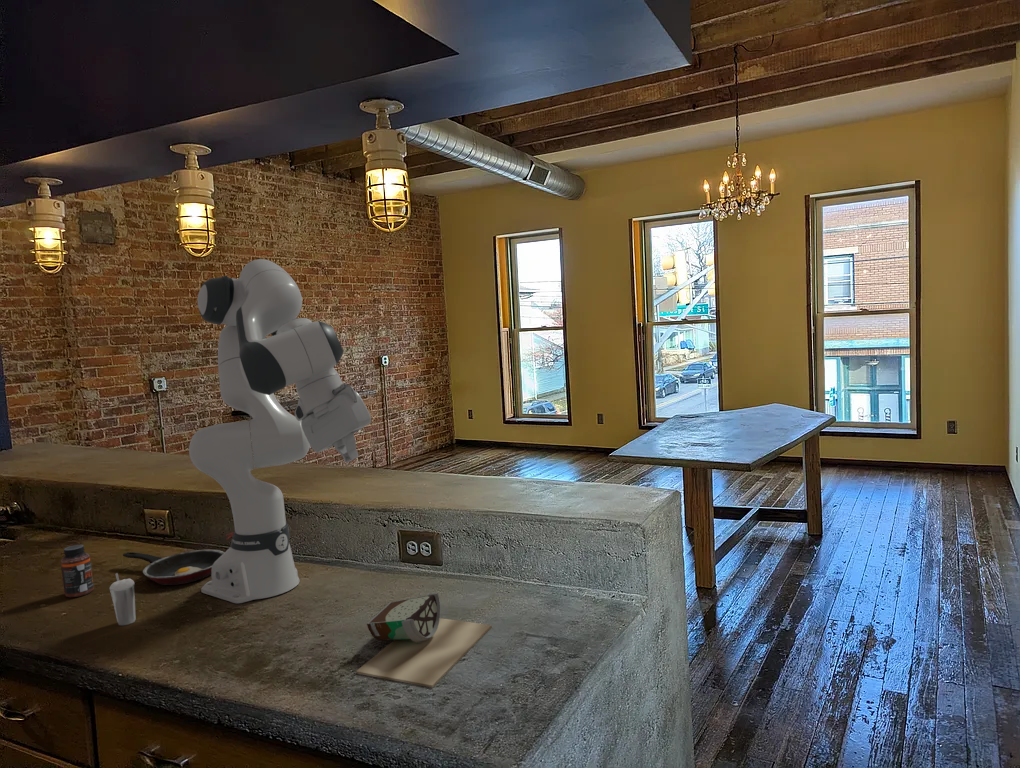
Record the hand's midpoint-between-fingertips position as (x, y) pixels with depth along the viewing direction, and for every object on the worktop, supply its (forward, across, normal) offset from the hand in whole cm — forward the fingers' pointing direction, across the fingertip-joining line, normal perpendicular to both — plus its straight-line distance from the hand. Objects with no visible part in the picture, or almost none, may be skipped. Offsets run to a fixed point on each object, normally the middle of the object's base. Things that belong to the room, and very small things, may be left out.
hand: (352, 459), depth 137 cm
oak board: (+37, -9, +7) cm, 39 cm away
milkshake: (+11, +48, +37) cm, 61 cm away
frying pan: (+4, +71, +19) cm, 74 cm away
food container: (+31, 0, +9) cm, 33 cm away
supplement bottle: (0, +74, +38) cm, 83 cm away
